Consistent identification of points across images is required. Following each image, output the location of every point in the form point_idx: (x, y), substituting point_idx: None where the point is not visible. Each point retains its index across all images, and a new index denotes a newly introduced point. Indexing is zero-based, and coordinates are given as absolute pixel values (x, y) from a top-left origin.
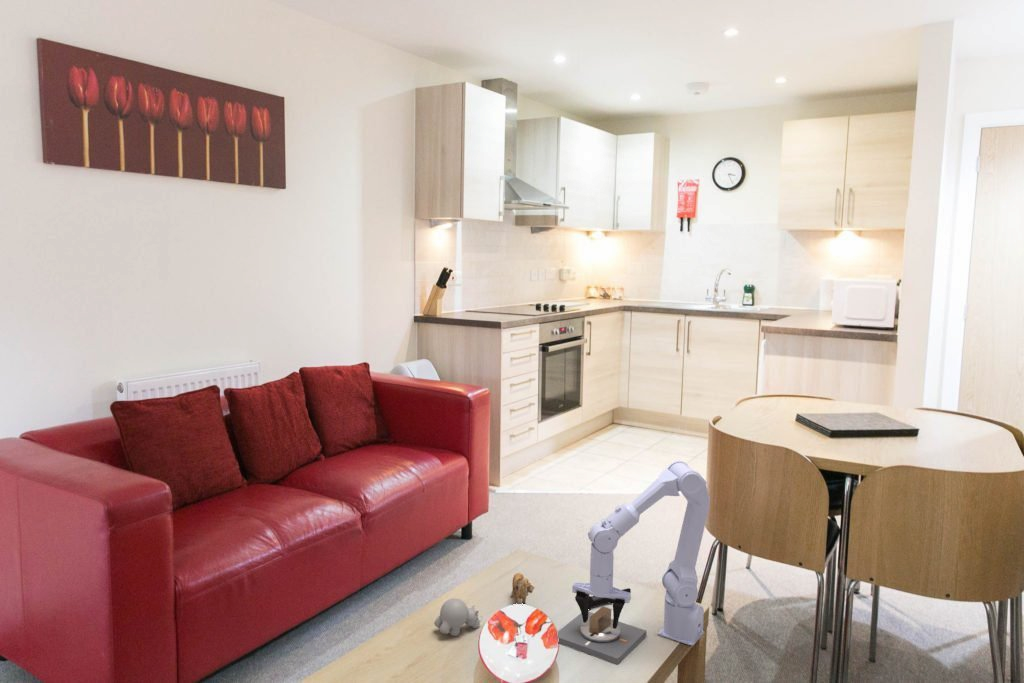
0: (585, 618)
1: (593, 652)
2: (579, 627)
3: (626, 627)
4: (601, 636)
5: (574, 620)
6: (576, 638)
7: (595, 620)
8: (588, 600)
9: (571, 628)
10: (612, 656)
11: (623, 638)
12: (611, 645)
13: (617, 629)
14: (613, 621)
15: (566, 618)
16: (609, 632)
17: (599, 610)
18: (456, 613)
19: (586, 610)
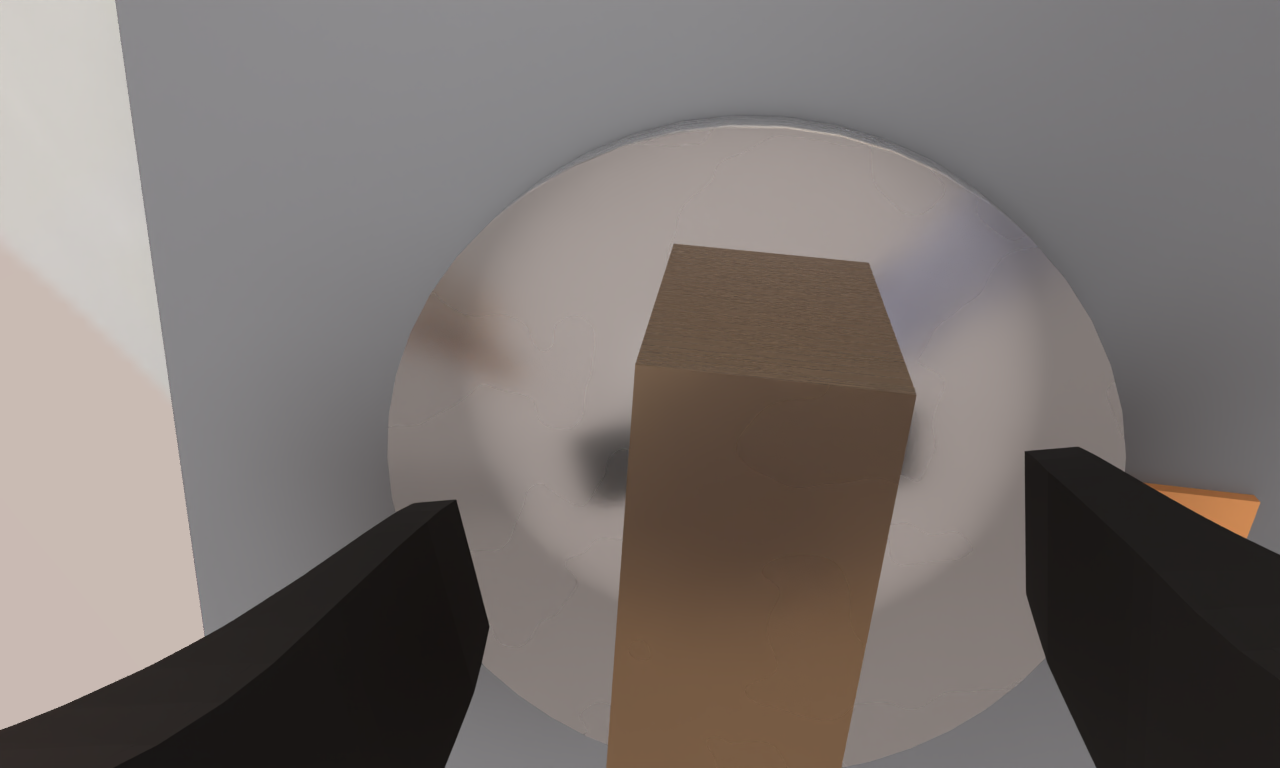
0: (467, 708)
1: None
2: (383, 455)
3: (1147, 26)
4: (860, 714)
5: (193, 298)
6: (507, 721)
7: None
8: (251, 698)
9: (304, 531)
10: None
11: (1172, 434)
12: (1030, 687)
13: (1059, 405)
14: (1093, 737)
15: (4, 107)
16: (945, 562)
17: (652, 605)
18: None
19: (390, 717)
